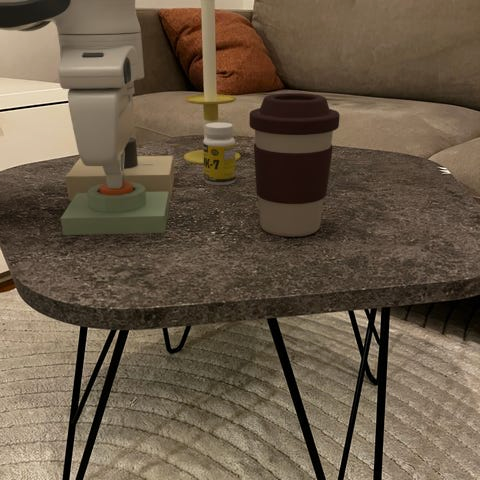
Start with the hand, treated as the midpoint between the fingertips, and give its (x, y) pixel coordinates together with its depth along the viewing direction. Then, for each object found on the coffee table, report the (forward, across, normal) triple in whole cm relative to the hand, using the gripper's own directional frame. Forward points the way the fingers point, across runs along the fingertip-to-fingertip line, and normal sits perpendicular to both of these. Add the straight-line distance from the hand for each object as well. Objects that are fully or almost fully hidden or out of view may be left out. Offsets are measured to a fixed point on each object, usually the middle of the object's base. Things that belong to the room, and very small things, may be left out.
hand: (116, 185), depth 72 cm
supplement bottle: (+5, -17, +13) cm, 22 cm away
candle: (+5, -33, +12) cm, 36 cm away
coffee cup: (+5, +4, +21) cm, 22 cm away
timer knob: (+1, -14, -1) cm, 14 cm away
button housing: (+4, 0, 0) cm, 5 cm away
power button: (+2, 0, 0) cm, 2 cm away
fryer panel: (+4, -14, -1) cm, 15 cm away
